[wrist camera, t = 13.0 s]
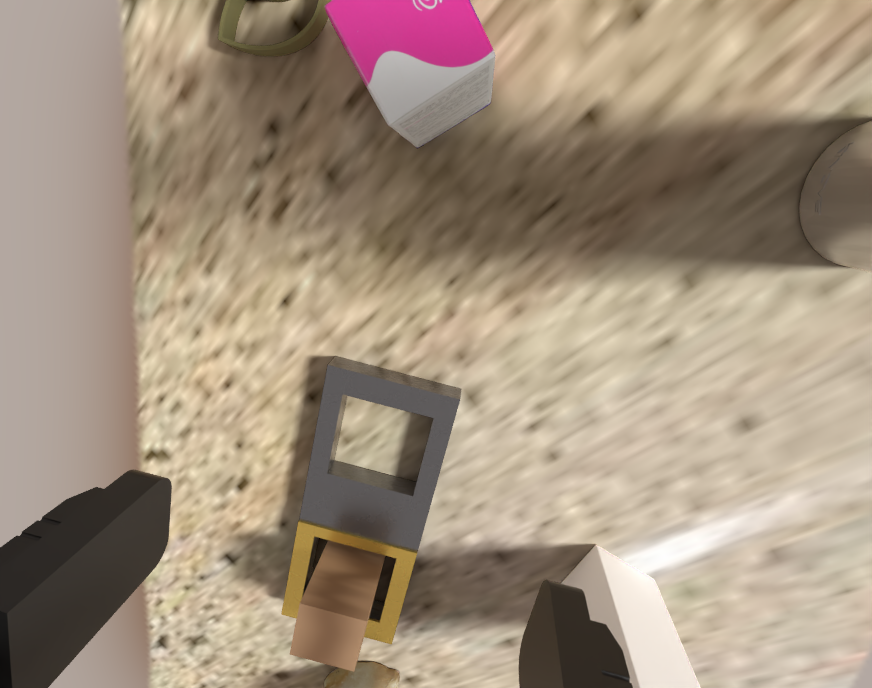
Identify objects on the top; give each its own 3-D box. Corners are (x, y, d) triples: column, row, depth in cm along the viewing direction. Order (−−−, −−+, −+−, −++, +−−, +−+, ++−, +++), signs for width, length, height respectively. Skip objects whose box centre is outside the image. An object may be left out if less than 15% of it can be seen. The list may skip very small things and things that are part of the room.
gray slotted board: (461, 388, 39) (460, 400, 37) (395, 623, 46) (391, 644, 44) (335, 355, 39) (326, 365, 37) (290, 595, 46) (281, 614, 44)
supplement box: (495, 101, 33) (499, 59, 22) (416, 150, 34) (383, 133, 23) (451, 13, 31) (433, -79, 20) (372, 67, 33) (314, 8, 22)
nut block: (387, 545, 44) (366, 621, 36) (376, 590, 45) (354, 671, 38) (332, 531, 44) (299, 603, 36) (322, 575, 45) (289, 654, 38)
